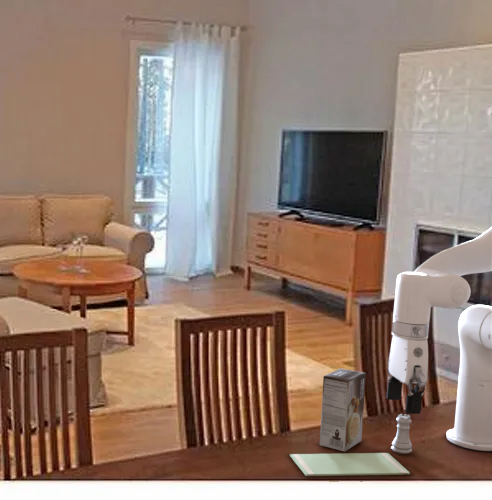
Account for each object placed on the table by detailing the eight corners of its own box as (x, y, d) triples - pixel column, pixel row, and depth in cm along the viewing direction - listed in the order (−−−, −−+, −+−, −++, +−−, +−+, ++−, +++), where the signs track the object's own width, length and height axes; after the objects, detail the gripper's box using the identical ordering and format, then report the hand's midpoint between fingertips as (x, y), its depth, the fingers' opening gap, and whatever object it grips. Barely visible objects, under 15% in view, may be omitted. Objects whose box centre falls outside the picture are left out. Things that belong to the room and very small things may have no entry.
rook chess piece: (387, 447, 187) (390, 412, 186) (407, 447, 188) (409, 412, 187) (395, 454, 183) (398, 419, 182) (415, 454, 183) (418, 419, 182)
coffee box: (335, 434, 194) (340, 367, 192) (362, 441, 191) (367, 372, 188) (318, 445, 187) (322, 375, 185) (345, 452, 183) (350, 381, 181)
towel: (387, 454, 183) (388, 452, 183) (409, 474, 172) (410, 472, 172) (289, 455, 180) (289, 454, 180) (305, 476, 169) (306, 474, 169)
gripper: (445, 339, 174) (437, 419, 176) (409, 321, 191) (402, 394, 193) (411, 338, 173) (403, 418, 175) (377, 320, 190) (371, 394, 192)
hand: (402, 406), depth 184 cm, fingers open, 9 cm apart
